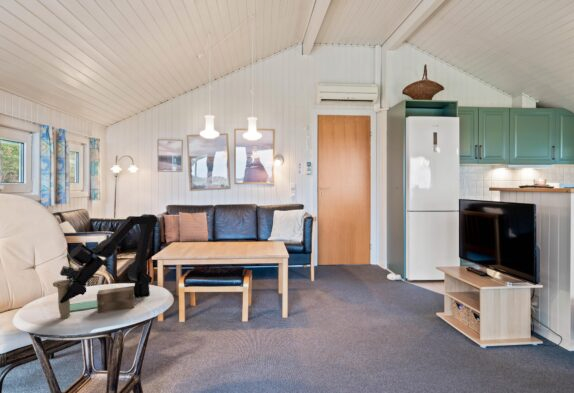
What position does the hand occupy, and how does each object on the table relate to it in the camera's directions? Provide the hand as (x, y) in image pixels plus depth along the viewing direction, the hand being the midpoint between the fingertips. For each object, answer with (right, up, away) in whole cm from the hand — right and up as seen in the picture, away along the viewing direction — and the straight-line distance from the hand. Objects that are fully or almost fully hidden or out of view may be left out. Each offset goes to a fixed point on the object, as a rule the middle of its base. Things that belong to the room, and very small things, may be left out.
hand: (60, 301), depth 143 cm
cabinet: (+18, -6, +10) cm, 22 cm away
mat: (+1, -6, +13) cm, 14 cm away
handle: (+1, -7, +1) cm, 7 cm away
